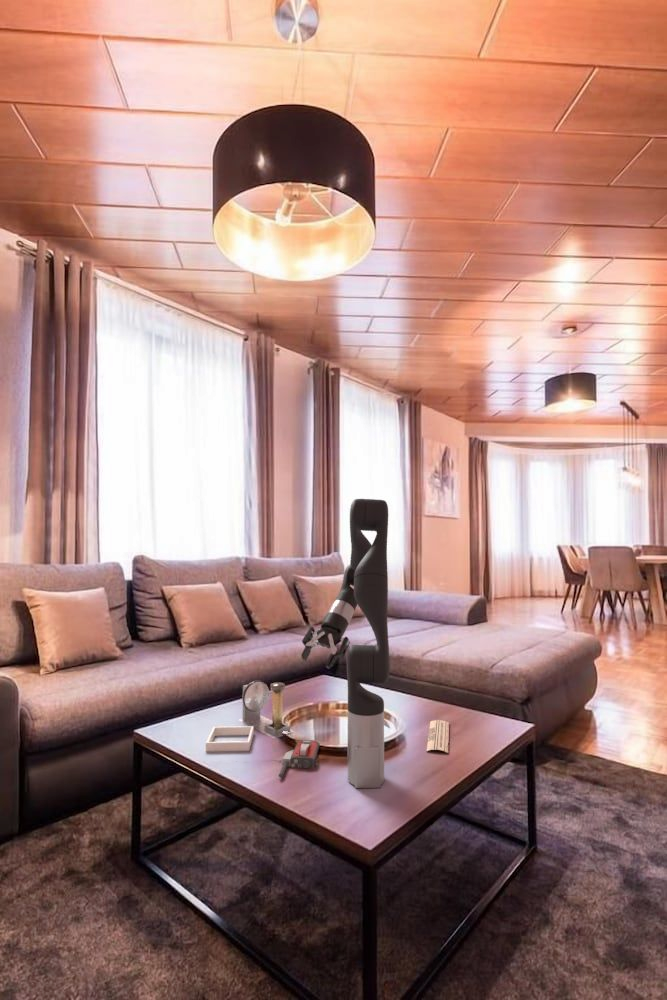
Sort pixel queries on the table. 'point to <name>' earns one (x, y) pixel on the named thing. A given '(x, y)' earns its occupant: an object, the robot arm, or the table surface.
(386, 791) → the table surface
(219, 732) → the parts tray
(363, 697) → the robot arm
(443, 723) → the newspaper
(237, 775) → the table surface
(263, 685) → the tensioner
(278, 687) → the lock pin
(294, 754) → the walkie-talkie
